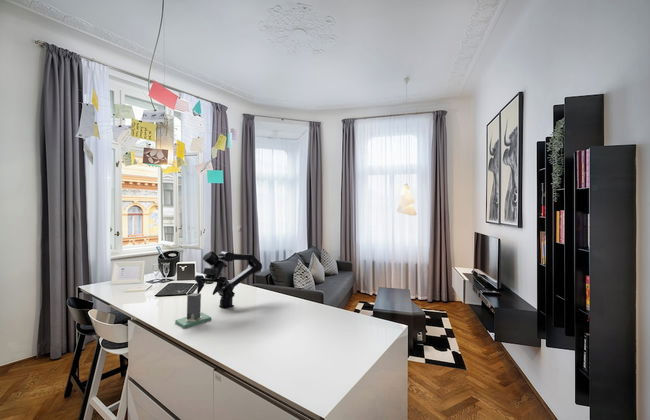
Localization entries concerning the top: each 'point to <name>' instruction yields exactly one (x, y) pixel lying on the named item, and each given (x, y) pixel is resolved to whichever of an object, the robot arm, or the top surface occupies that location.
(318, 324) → the top surface
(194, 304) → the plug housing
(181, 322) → the board
